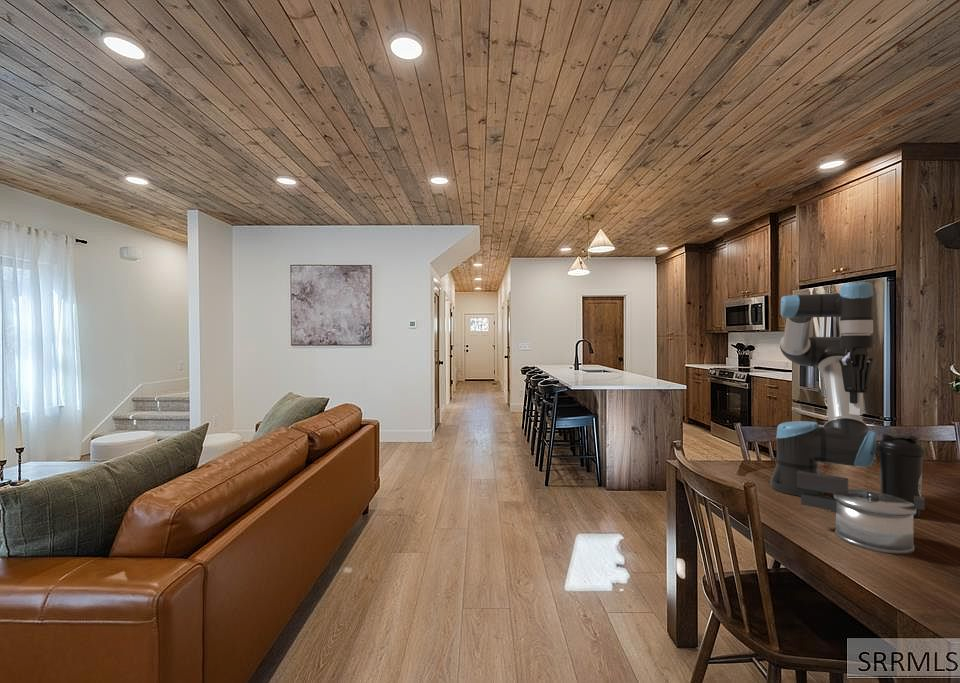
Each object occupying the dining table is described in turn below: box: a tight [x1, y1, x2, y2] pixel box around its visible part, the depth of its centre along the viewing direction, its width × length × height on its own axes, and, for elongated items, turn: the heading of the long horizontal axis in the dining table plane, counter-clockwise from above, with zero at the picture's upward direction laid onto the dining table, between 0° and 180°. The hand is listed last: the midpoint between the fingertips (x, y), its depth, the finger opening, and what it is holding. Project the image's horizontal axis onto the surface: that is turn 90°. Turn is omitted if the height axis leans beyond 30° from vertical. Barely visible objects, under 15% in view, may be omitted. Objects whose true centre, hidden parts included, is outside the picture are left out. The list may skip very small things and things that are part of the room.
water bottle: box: [877, 433, 925, 519], centre depth 136 cm, size 10×10×23 cm
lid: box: [797, 471, 926, 516], centre depth 119 cm, size 25×16×5 cm, turn 48°
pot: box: [800, 492, 915, 555], centre depth 119 cm, size 23×15×9 cm
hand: (855, 414), depth 135 cm, fingers closed
